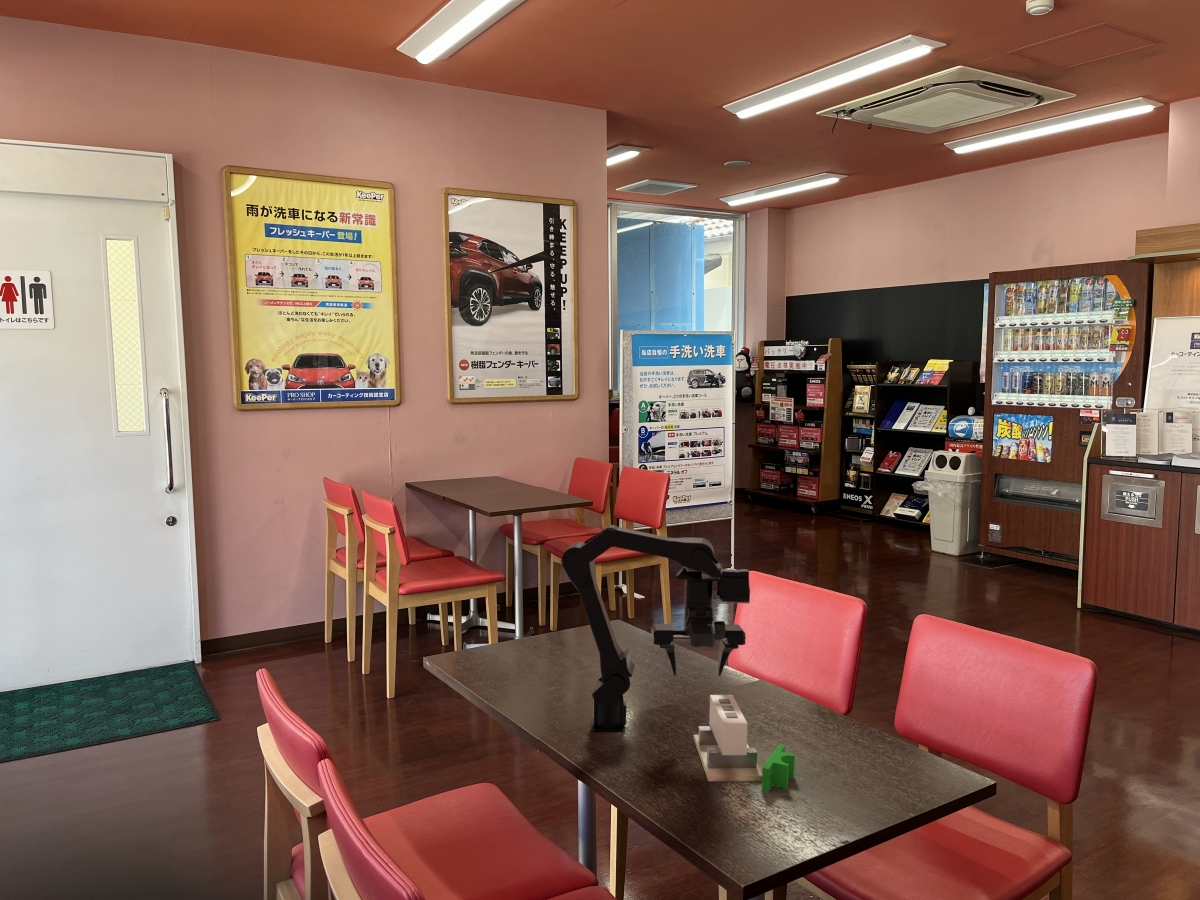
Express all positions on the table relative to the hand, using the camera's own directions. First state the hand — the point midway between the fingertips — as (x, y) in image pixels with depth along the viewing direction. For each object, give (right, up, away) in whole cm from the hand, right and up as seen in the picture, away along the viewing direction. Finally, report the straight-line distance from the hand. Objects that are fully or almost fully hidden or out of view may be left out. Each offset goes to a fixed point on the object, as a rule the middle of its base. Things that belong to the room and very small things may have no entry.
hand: (696, 675), depth 173 cm
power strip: (+4, -9, -12) cm, 16 cm away
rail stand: (+4, -13, -12) cm, 18 cm away
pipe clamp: (+13, -14, -20) cm, 28 cm away
